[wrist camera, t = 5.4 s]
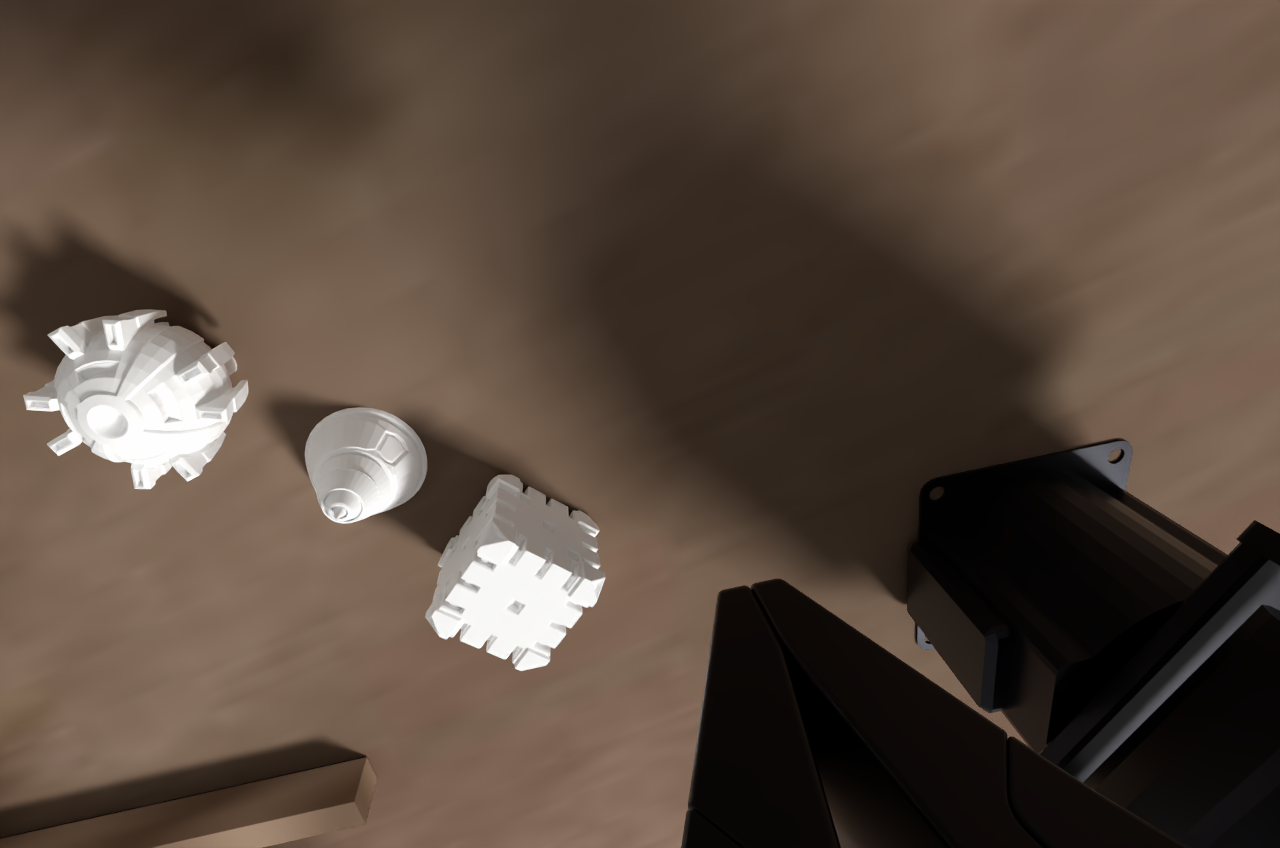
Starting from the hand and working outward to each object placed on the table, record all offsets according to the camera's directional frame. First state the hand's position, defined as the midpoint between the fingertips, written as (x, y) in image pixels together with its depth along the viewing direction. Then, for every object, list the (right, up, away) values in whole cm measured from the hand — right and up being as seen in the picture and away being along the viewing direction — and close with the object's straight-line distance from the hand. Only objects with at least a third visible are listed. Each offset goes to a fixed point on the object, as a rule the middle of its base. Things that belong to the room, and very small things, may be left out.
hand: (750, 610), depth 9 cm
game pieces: (-8, +2, +8) cm, 12 cm away
